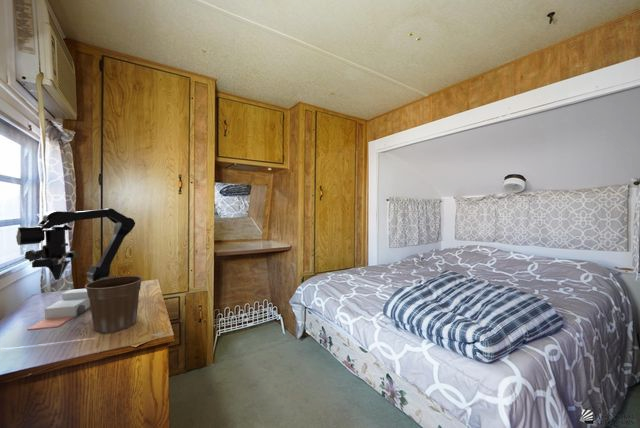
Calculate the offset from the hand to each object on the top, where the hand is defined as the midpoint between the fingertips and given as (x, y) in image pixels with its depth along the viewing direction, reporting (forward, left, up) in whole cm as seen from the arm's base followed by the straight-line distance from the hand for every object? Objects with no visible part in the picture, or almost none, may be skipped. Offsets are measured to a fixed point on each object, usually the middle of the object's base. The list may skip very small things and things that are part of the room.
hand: (57, 279), depth 108 cm
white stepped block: (-7, +4, -13) cm, 15 cm away
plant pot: (-29, +24, -13) cm, 40 cm away
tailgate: (-7, +13, -12) cm, 19 cm away
